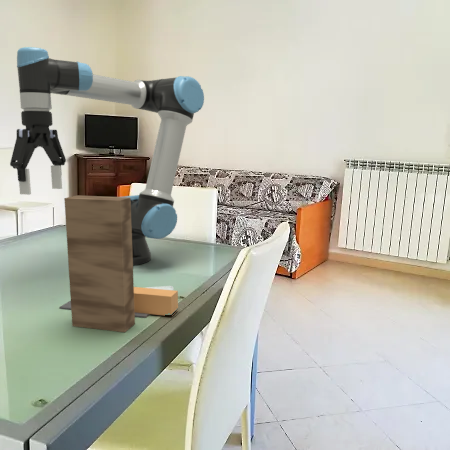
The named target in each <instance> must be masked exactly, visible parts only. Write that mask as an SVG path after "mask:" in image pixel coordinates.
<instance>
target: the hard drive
mask: <svg viewBox="0 0 450 450" xmlns="http://www.w3.org/2000/svg"><path fill="white" fill-rule="evenodd" d="M145 288H152V289H163V290H174V291H175V289H174V286H173V285H162V286H147V287H145Z"/></svg>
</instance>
